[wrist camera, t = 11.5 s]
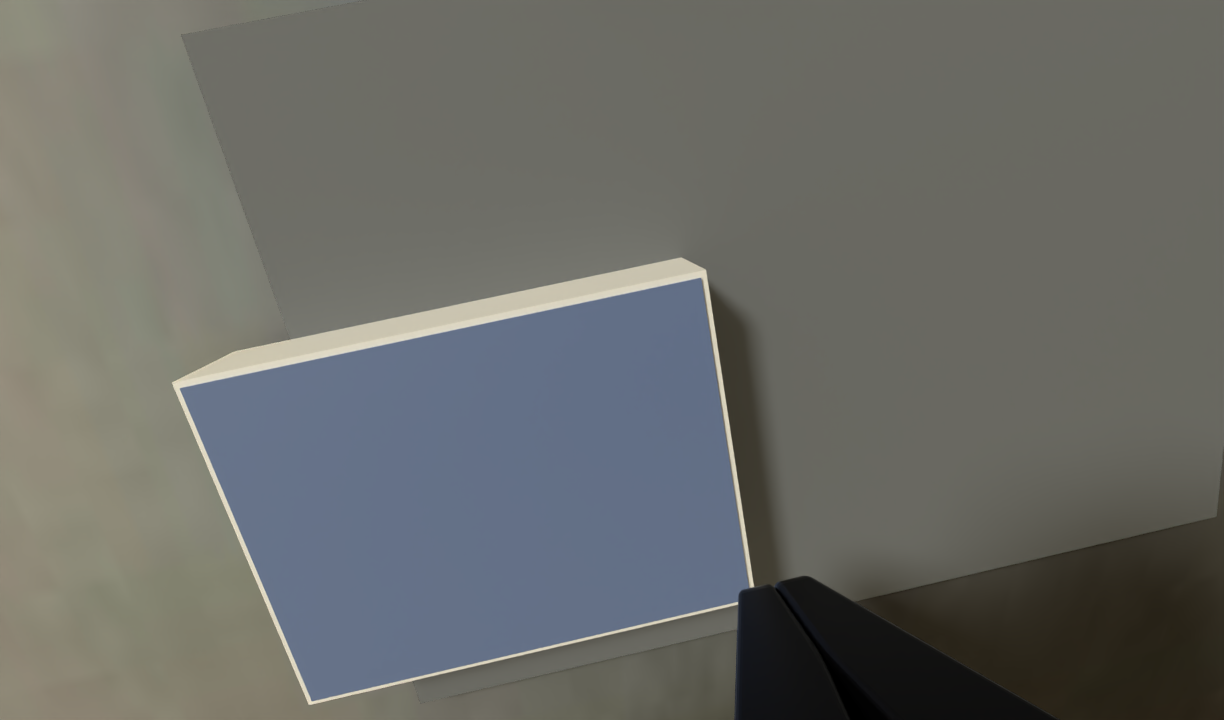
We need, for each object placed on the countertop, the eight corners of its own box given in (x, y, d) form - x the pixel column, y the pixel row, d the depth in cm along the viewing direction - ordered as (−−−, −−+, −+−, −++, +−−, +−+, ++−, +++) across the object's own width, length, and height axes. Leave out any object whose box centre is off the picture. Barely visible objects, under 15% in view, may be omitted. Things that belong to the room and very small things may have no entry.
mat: (1245, -154, 10) (1286, -174, 10) (1189, 503, 14) (1216, 517, 14) (202, 44, 10) (180, 34, 9) (426, 681, 13) (420, 703, 13)
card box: (756, 602, 11) (308, 706, 10) (728, 544, 13) (343, 631, 12) (706, 269, 9) (170, 383, 9) (681, 257, 11) (234, 351, 11)
